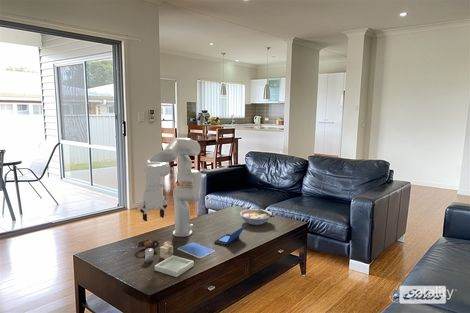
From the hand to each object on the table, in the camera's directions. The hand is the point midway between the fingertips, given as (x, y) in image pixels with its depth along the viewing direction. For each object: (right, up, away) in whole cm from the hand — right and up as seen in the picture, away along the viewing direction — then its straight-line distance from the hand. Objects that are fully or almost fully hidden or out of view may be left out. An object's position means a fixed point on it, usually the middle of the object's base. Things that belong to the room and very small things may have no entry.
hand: (153, 218), depth 178 cm
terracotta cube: (+5, -21, +15) cm, 26 cm away
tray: (+13, -24, -8) cm, 28 cm away
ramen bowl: (+58, -15, +60) cm, 85 cm away
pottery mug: (-6, -21, +12) cm, 25 cm away
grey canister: (-2, -22, 0) cm, 22 cm away
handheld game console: (+40, -20, +27) cm, 52 cm away
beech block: (+6, -22, +5) cm, 23 cm away
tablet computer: (+21, -21, +14) cm, 33 cm away
